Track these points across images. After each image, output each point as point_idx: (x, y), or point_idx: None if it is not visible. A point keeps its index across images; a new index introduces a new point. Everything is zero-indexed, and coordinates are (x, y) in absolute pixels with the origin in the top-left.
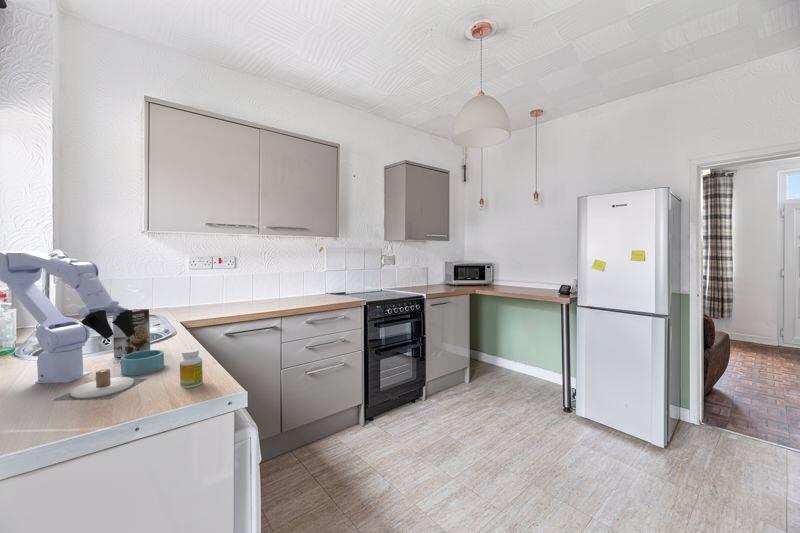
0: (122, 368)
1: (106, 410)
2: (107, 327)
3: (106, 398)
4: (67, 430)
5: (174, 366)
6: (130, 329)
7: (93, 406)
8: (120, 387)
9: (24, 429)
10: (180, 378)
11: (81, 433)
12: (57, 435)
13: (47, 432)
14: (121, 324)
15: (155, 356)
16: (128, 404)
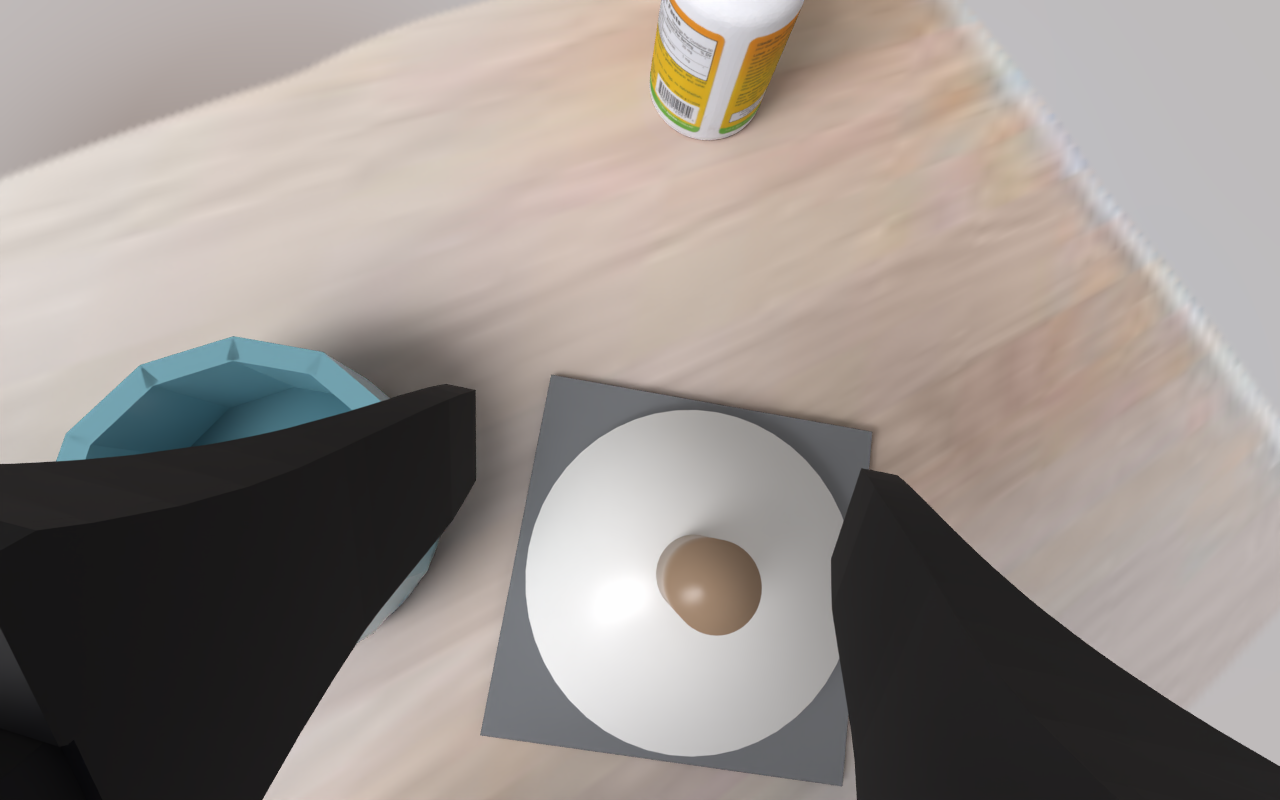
0: (378, 619)
1: (991, 378)
2: (962, 544)
3: (864, 453)
4: (1177, 430)
5: (271, 314)
6: (435, 437)
7: (935, 476)
8: (748, 440)
9: (1162, 644)
10: (751, 100)
11: (1203, 352)
12: (1217, 442)
13: (1191, 507)
14: (316, 632)
15: (337, 363)
16: (931, 307)
